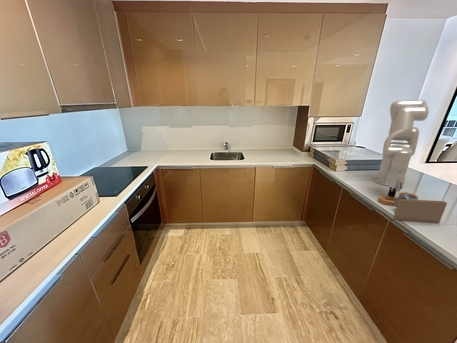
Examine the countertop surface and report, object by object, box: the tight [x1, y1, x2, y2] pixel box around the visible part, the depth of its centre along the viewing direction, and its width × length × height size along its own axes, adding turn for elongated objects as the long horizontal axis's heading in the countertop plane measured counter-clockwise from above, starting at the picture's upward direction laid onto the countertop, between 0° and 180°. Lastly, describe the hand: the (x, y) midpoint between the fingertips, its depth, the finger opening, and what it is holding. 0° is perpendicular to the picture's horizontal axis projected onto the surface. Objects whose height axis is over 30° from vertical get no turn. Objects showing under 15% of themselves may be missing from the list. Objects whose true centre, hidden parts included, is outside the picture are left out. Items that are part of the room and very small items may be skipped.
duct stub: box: [392, 194, 448, 224], centre depth 106 cm, size 12×20×12 cm, turn 78°
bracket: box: [377, 191, 419, 208], centre depth 119 cm, size 18×8×7 cm, turn 66°
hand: (391, 196), depth 125 cm, fingers closed
